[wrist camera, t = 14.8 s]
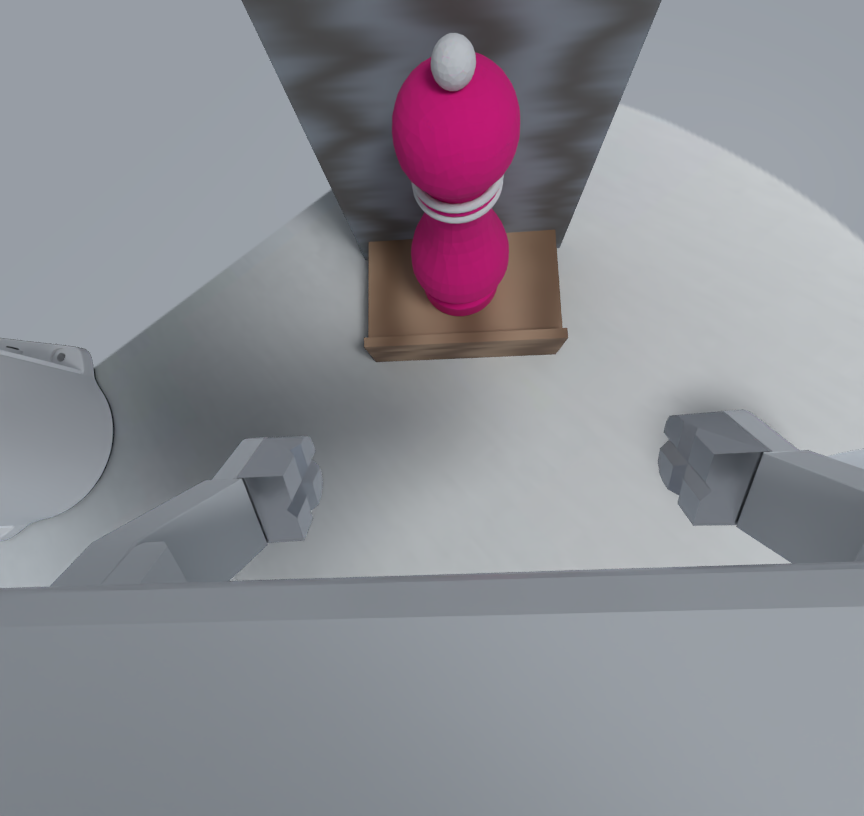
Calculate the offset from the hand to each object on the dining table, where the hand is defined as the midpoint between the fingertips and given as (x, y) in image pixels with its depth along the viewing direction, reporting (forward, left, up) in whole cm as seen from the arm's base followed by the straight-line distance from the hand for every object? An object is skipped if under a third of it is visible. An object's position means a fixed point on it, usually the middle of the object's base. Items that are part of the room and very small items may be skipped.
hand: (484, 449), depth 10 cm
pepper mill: (-6, +14, -24) cm, 28 cm away
